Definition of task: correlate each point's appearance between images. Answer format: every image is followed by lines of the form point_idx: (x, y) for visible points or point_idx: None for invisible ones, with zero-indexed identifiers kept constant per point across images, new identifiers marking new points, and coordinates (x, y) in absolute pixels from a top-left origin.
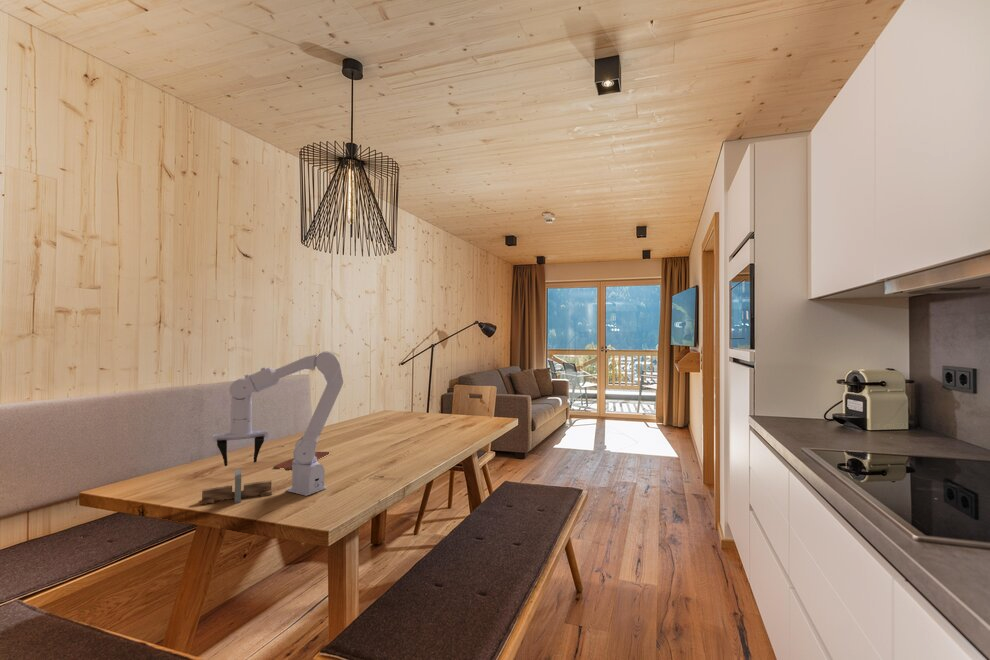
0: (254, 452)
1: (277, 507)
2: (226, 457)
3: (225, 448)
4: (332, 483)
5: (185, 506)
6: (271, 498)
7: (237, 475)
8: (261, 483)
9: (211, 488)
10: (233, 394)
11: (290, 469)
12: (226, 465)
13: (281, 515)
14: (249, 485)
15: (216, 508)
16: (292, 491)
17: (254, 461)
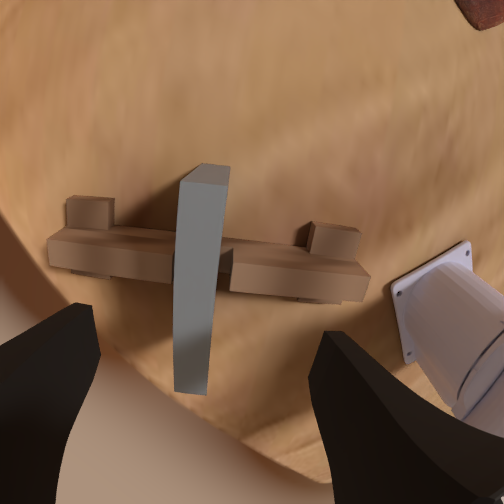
0: (347, 418)
1: (305, 405)
2: (72, 418)
3: (45, 500)
4: (499, 280)
5: (35, 247)
6: (321, 333)
7: (187, 346)
8: (317, 297)
9: (78, 249)
10: None
11: (468, 15)
12: (95, 355)
13: (293, 441)
14: (258, 292)
15: (130, 331)
16: (398, 320)
17: (313, 387)
